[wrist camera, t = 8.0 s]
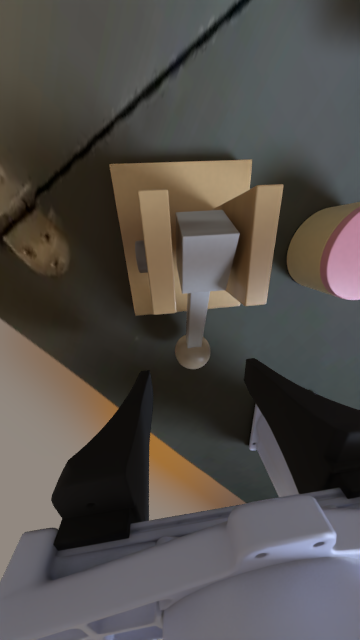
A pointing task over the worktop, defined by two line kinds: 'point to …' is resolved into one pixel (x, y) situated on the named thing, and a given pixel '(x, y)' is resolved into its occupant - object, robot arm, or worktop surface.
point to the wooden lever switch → (185, 196)
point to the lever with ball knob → (201, 274)
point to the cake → (328, 252)
